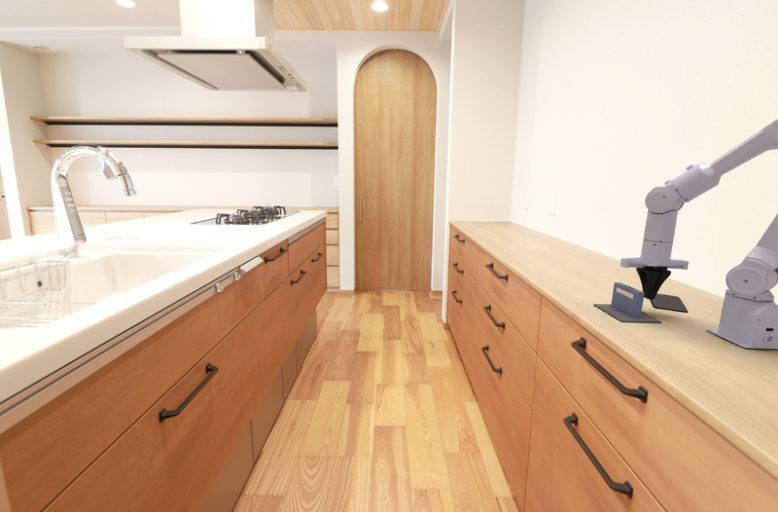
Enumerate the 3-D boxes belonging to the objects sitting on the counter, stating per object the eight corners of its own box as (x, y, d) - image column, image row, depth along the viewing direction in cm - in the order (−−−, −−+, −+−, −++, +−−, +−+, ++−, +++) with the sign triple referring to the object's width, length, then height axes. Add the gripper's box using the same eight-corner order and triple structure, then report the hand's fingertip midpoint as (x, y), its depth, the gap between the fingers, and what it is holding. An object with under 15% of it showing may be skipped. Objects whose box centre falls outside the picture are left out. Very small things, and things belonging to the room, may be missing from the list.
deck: (640, 318, 90) (644, 292, 89) (633, 318, 90) (637, 292, 89) (617, 306, 99) (620, 282, 98) (610, 305, 99) (614, 282, 98)
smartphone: (653, 306, 100) (647, 292, 113) (652, 310, 100) (647, 295, 113) (689, 312, 96) (679, 296, 109) (688, 315, 97) (678, 299, 110)
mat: (661, 323, 89) (662, 321, 89) (621, 322, 88) (621, 320, 88) (628, 306, 100) (629, 304, 100) (593, 305, 100) (593, 303, 100)
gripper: (676, 239, 95) (667, 294, 98) (616, 237, 95) (608, 292, 98) (699, 243, 89) (688, 303, 91) (634, 241, 88) (625, 301, 91)
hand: (648, 298), depth 94 cm, fingers closed
